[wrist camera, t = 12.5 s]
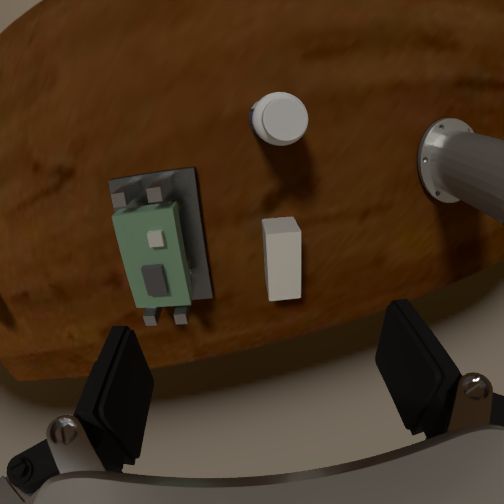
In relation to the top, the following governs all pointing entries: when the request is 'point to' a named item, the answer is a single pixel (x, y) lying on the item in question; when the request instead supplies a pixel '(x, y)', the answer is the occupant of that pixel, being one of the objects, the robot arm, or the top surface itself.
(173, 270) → the board
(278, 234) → the block
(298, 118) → the pill bottle
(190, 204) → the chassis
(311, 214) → the top surface
